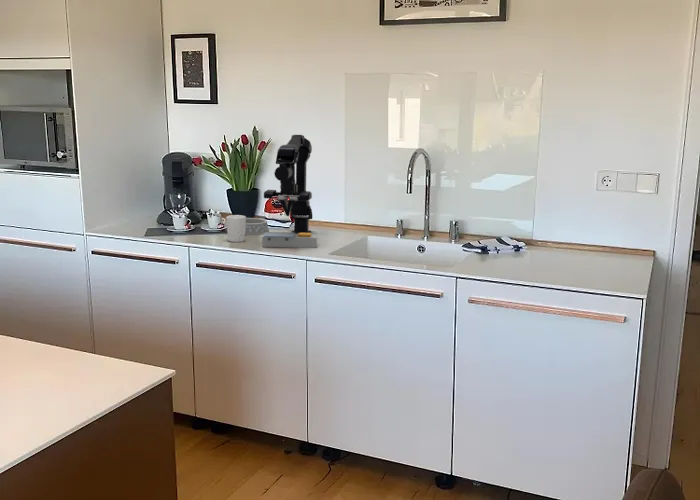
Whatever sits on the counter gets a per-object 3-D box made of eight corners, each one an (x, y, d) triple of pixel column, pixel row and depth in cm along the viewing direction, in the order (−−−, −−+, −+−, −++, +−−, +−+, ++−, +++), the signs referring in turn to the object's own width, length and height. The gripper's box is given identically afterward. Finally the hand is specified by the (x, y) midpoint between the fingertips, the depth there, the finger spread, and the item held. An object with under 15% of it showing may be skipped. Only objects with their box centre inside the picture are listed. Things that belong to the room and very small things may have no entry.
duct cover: (265, 233, 294) (265, 232, 294) (295, 233, 294) (295, 232, 294) (263, 237, 285) (263, 235, 285) (294, 237, 285) (294, 236, 285)
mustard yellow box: (299, 240, 302) (299, 232, 301) (311, 241, 302) (311, 232, 301) (298, 242, 298) (298, 234, 298) (310, 243, 298) (310, 234, 297)
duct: (263, 243, 295) (263, 233, 294) (316, 243, 296) (316, 234, 295) (262, 247, 287) (262, 237, 286) (316, 247, 288) (316, 237, 287)
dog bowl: (258, 227, 331) (258, 216, 330) (274, 234, 315) (274, 222, 314) (222, 230, 322) (222, 218, 321) (238, 237, 307) (238, 225, 306)
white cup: (247, 239, 303) (247, 215, 301) (243, 242, 295) (243, 218, 293) (229, 238, 303) (229, 214, 301) (224, 241, 296) (224, 217, 294)
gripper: (314, 176, 296) (314, 213, 299) (270, 174, 299) (270, 211, 302) (309, 179, 285) (308, 218, 289) (263, 177, 288) (263, 216, 291)
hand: (287, 215), depth 293 cm, fingers closed
